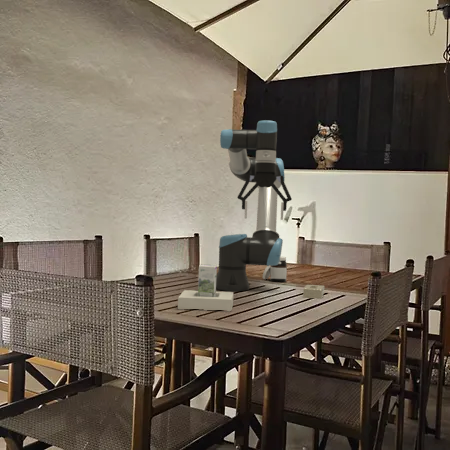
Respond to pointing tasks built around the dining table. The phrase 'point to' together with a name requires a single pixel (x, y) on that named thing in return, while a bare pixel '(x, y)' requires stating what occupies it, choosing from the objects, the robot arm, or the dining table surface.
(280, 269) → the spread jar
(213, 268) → the syrup box
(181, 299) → the holder block
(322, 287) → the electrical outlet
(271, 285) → the dining table surface
